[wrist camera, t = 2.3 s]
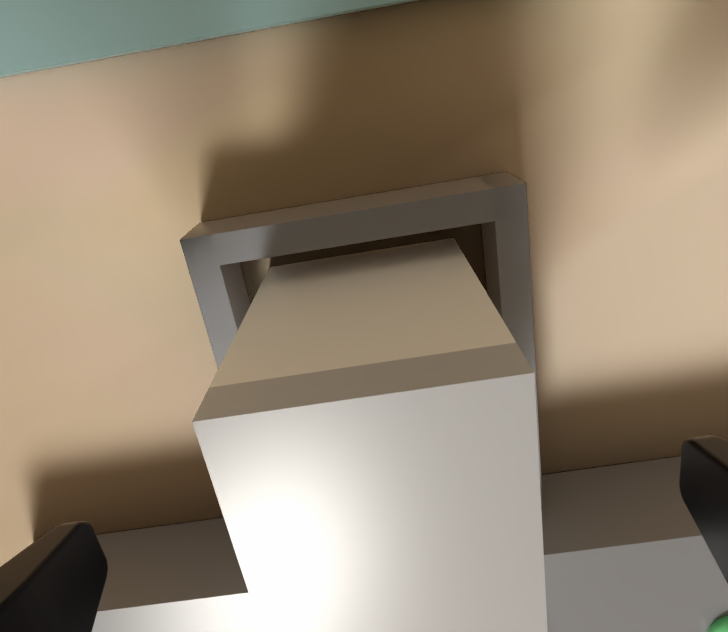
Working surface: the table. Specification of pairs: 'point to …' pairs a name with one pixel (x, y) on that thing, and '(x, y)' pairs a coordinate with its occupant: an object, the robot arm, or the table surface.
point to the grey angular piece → (558, 490)
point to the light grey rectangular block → (379, 450)
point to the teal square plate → (140, 25)
